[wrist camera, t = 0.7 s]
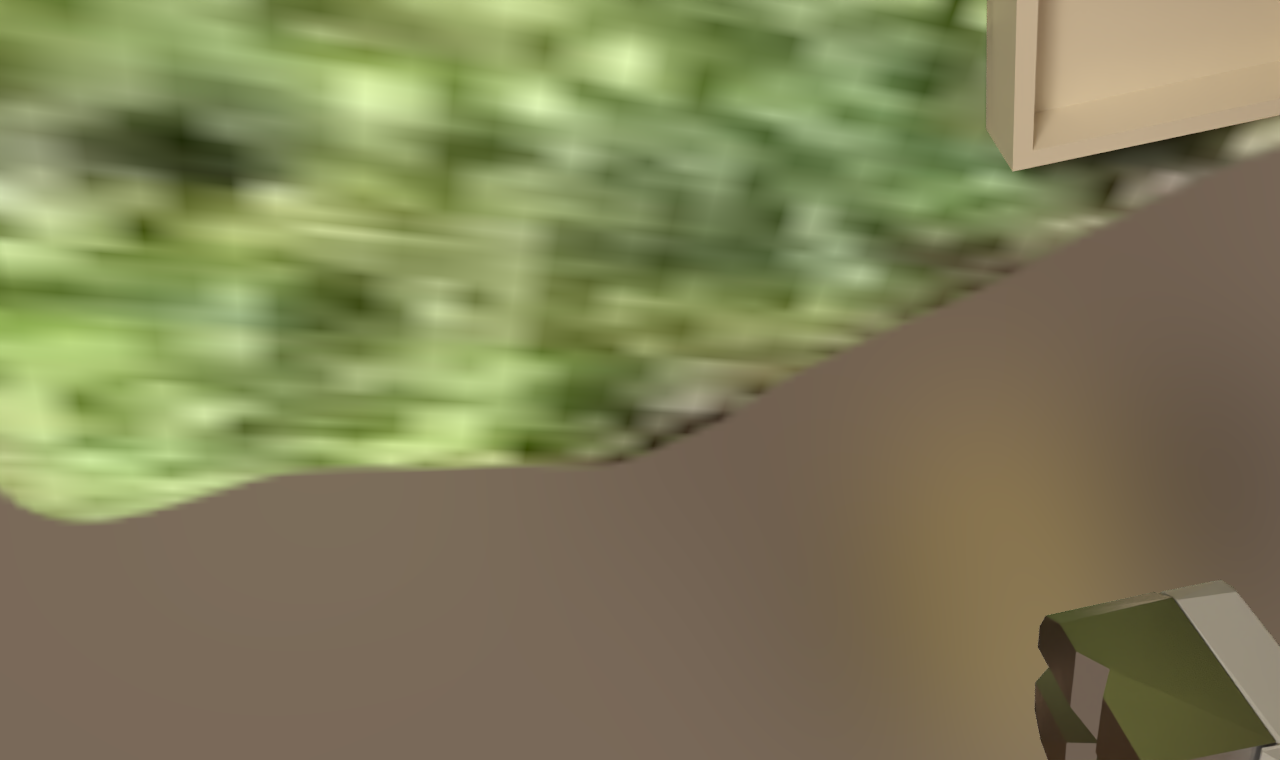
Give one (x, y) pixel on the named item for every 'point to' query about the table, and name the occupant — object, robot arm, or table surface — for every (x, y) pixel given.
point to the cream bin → (1124, 72)
